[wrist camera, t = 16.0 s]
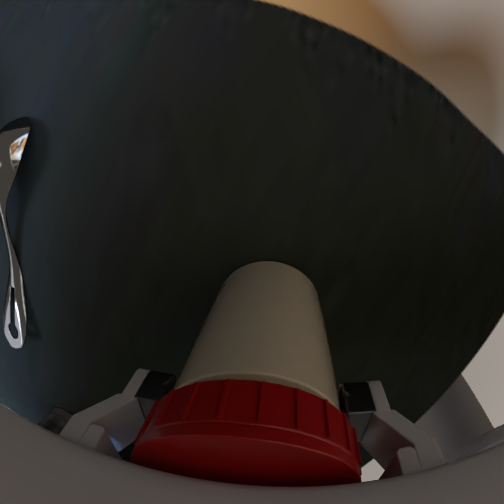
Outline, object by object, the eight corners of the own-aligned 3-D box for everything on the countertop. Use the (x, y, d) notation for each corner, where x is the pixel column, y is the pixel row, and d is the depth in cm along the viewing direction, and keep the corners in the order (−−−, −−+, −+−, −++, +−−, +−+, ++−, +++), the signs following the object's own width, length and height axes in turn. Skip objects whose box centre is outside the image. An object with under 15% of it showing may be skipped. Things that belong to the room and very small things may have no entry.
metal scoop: (16, 370, 17) (-14, 345, 17) (38, 351, 20) (8, 329, 20) (18, 115, 12) (-14, 113, 12) (53, 120, 15) (18, 116, 15)
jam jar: (341, 305, 16) (387, 463, 6) (272, 365, 18) (257, 515, 8) (261, 238, 16) (221, 377, 5) (197, 311, 17) (121, 454, 7)
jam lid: (224, 495, 9) (216, 529, 7) (111, 403, 8) (86, 443, 6) (377, 461, 8) (385, 502, 6) (300, 338, 6) (303, 399, 4)
